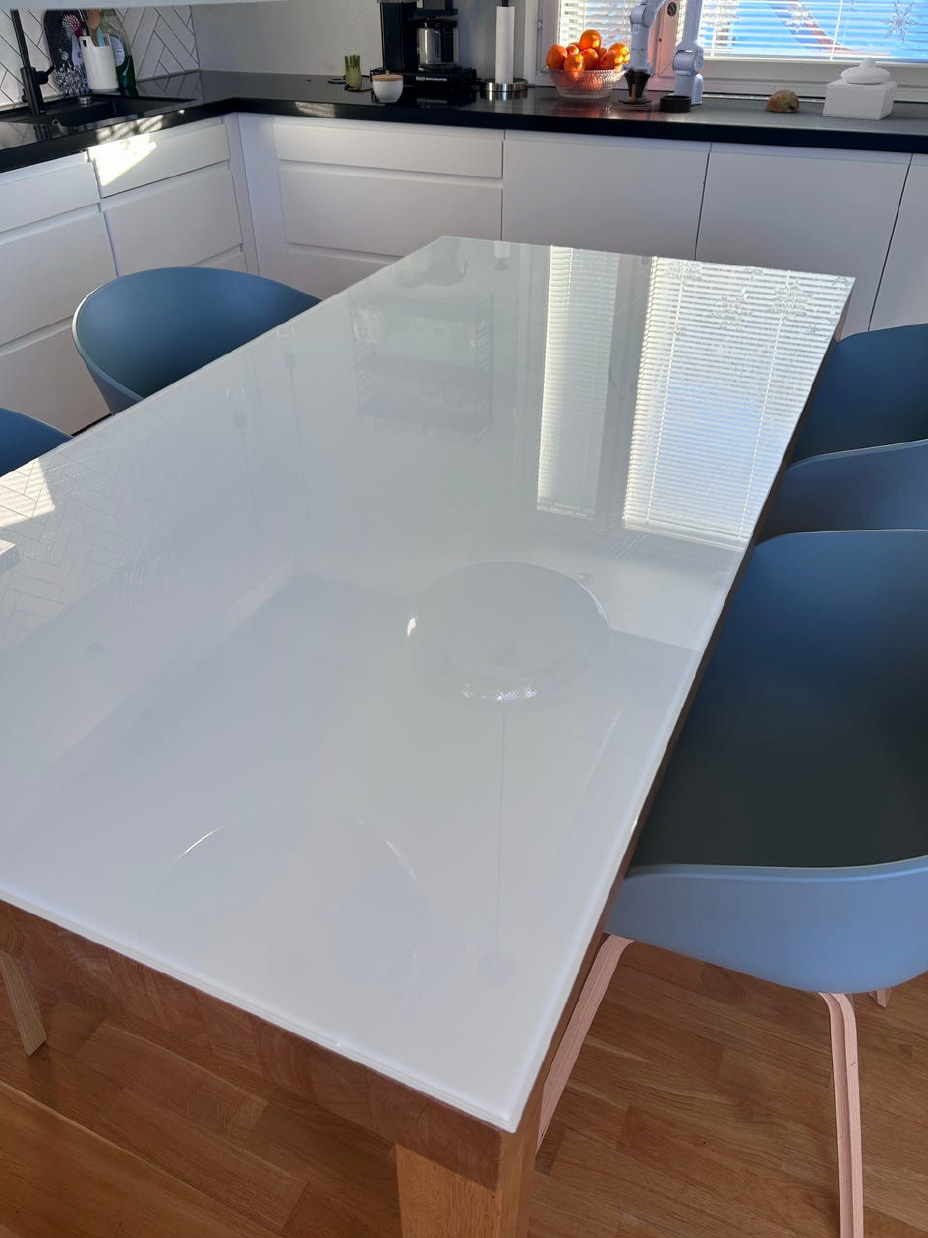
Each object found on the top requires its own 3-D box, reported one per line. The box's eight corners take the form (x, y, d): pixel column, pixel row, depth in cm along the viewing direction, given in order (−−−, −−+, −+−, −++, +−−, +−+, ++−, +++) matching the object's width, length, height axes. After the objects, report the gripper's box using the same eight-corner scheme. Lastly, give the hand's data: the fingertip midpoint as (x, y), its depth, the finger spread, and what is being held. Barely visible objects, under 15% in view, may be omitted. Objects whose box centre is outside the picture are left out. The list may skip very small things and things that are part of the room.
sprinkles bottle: (638, 104, 325) (642, 59, 318) (648, 105, 323) (653, 60, 315) (629, 105, 323) (633, 60, 315) (639, 107, 320) (643, 61, 312)
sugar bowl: (404, 98, 340) (403, 68, 335) (403, 102, 331) (402, 72, 326) (374, 99, 340) (372, 69, 335) (372, 103, 331) (371, 72, 326)
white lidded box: (879, 119, 294) (892, 60, 285) (820, 115, 302) (831, 57, 293) (891, 112, 306) (904, 55, 297) (834, 109, 314) (845, 53, 305)
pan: (668, 107, 319) (670, 94, 316) (696, 110, 313) (697, 96, 311) (653, 110, 312) (654, 97, 310) (680, 113, 307) (682, 99, 305)
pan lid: (629, 100, 319) (630, 81, 316) (657, 102, 313) (659, 83, 310) (611, 103, 312) (613, 84, 309) (640, 106, 306) (642, 86, 303)
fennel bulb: (345, 91, 360) (343, 54, 353) (349, 89, 364) (346, 53, 357) (360, 91, 359) (358, 54, 352) (363, 89, 363) (361, 53, 356)
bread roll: (774, 125, 310) (786, 101, 303) (757, 106, 314) (768, 82, 307) (797, 122, 313) (809, 99, 307) (780, 104, 318) (791, 80, 311)
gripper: (615, 48, 307) (612, 95, 315) (644, 51, 297) (639, 100, 305) (632, 47, 310) (628, 94, 318) (661, 50, 300) (656, 98, 308)
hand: (635, 97), depth 312 cm, fingers closed on pan lid, 2 cm apart
